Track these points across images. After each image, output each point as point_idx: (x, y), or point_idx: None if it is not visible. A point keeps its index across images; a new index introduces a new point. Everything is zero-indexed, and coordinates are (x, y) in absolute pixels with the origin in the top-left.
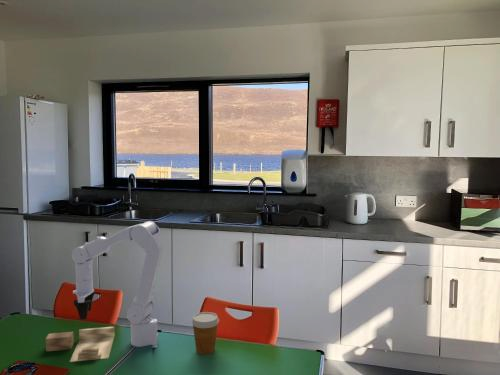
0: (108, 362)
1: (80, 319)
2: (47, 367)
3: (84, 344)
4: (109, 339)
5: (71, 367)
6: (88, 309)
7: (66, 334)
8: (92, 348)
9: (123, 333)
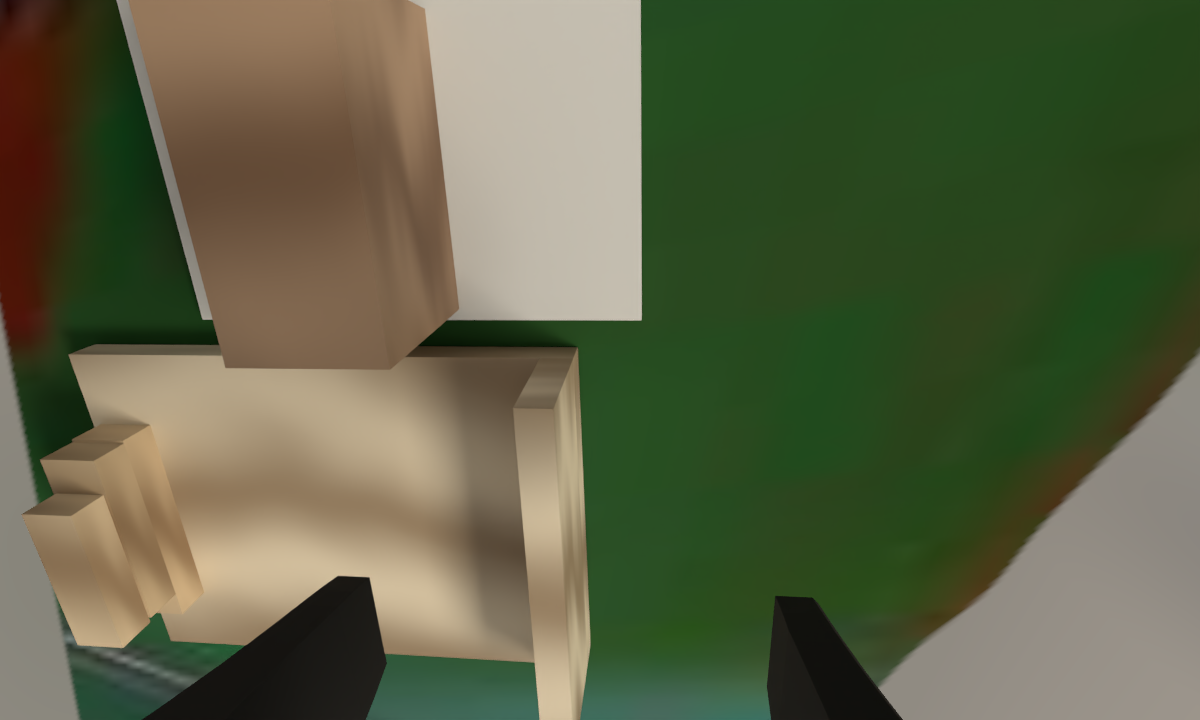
0: None
1: (331, 581)
2: (20, 139)
3: (419, 430)
4: (509, 631)
5: (57, 369)
6: (772, 692)
7: (295, 289)
8: (72, 600)
9: (682, 703)
